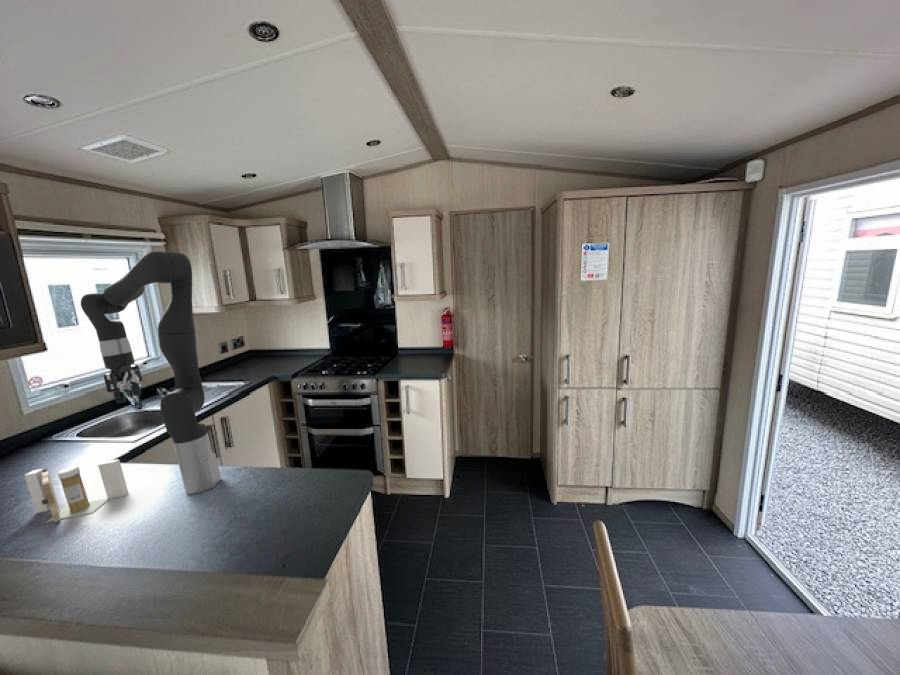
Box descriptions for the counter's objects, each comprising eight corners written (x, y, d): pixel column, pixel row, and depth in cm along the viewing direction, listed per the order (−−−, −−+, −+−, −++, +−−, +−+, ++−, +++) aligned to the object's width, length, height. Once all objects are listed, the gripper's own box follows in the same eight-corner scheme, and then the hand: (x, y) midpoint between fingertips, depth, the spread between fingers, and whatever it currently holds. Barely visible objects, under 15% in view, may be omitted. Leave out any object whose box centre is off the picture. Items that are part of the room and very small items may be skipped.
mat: (110, 498, 121) (110, 497, 121) (92, 513, 113) (92, 512, 113) (68, 506, 119) (68, 505, 118) (46, 522, 111) (46, 521, 111)
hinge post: (55, 505, 120) (44, 468, 118) (47, 511, 117) (35, 473, 115) (44, 507, 120) (33, 470, 117) (36, 513, 117) (24, 475, 114)
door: (60, 521, 110) (48, 481, 108) (49, 526, 108) (35, 485, 106) (59, 505, 120) (47, 468, 117) (48, 509, 118) (36, 471, 116)
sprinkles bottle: (93, 502, 118) (81, 463, 116) (85, 510, 114) (72, 470, 112) (75, 507, 117) (63, 467, 115) (66, 515, 113) (53, 474, 110)
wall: (128, 492, 123) (119, 459, 121) (124, 495, 121) (114, 461, 119) (112, 495, 122) (102, 461, 120) (107, 499, 120) (97, 464, 118)
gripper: (115, 354, 117) (128, 403, 120) (142, 347, 131) (154, 391, 134) (88, 358, 116) (102, 407, 119) (118, 350, 130) (130, 394, 132)
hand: (129, 398), depth 126 cm, fingers open, 8 cm apart
